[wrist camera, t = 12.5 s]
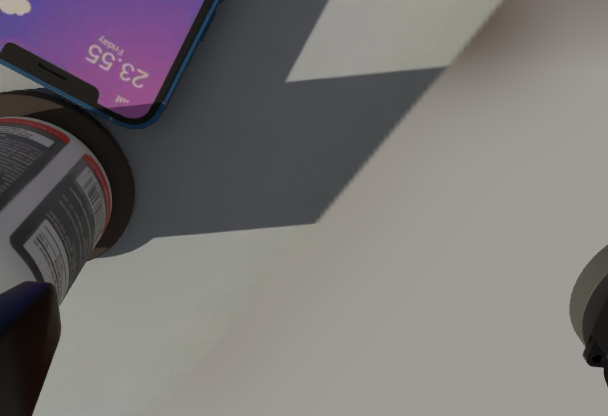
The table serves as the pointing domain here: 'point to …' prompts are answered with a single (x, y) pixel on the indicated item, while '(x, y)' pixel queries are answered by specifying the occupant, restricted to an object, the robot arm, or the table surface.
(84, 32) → the smartphone
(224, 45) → the table surface
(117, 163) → the coaster
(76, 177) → the pill bottle
